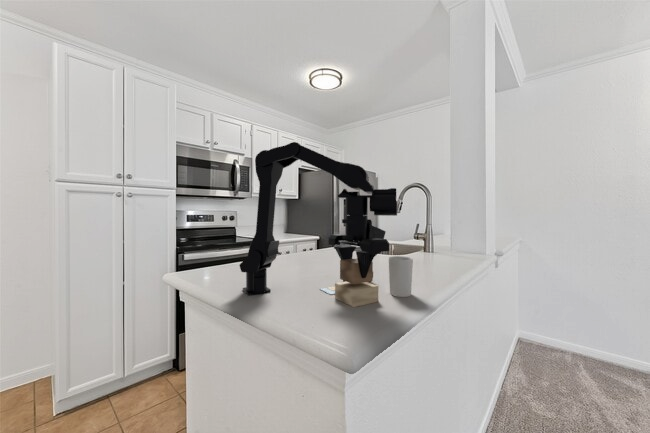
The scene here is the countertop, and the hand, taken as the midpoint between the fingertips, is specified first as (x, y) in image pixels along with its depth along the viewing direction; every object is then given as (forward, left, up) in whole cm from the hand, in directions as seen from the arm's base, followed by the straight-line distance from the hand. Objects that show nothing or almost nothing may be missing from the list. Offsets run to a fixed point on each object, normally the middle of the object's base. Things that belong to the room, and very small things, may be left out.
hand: (356, 275), depth 71 cm
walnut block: (0, 0, -1) cm, 1 cm away
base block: (0, 0, -6) cm, 6 cm away
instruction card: (-10, +1, -6) cm, 12 cm away
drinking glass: (+2, +14, -7) cm, 16 cm away
